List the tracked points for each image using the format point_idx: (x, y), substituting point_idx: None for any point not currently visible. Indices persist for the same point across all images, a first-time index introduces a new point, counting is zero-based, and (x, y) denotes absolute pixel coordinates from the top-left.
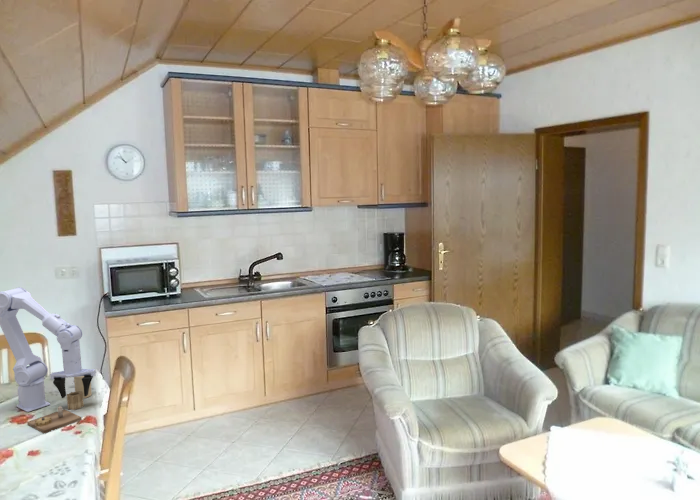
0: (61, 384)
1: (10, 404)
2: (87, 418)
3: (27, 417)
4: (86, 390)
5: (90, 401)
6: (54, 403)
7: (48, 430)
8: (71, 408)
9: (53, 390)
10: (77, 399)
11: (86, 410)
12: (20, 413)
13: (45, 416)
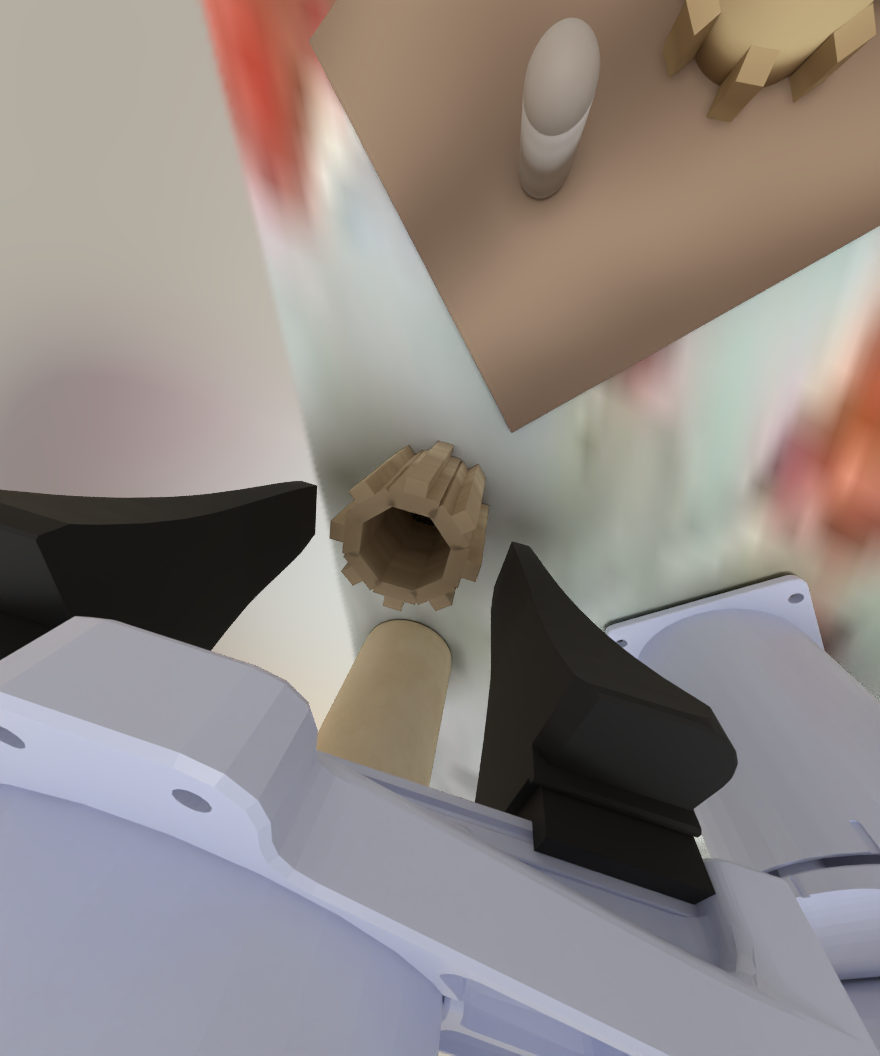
0: (531, 661)
1: None
2: (278, 101)
3: (832, 456)
4: (246, 491)
5: None
6: None
7: None
8: (457, 460)
9: None
10: (384, 471)
11: (340, 374)
12: (850, 581)
13: (702, 300)
